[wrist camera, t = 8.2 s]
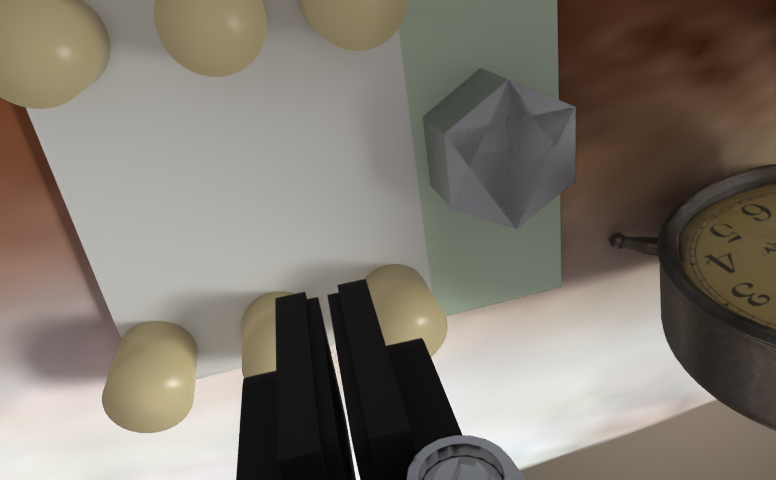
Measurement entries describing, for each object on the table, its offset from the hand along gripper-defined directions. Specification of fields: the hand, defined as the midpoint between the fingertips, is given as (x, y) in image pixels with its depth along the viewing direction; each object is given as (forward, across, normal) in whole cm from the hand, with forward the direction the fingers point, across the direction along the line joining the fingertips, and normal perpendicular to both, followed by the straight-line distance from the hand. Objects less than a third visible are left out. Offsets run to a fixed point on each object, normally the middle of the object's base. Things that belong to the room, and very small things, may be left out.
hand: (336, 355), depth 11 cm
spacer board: (+11, -1, 0) cm, 11 cm away
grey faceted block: (+11, -6, 0) cm, 13 cm away
